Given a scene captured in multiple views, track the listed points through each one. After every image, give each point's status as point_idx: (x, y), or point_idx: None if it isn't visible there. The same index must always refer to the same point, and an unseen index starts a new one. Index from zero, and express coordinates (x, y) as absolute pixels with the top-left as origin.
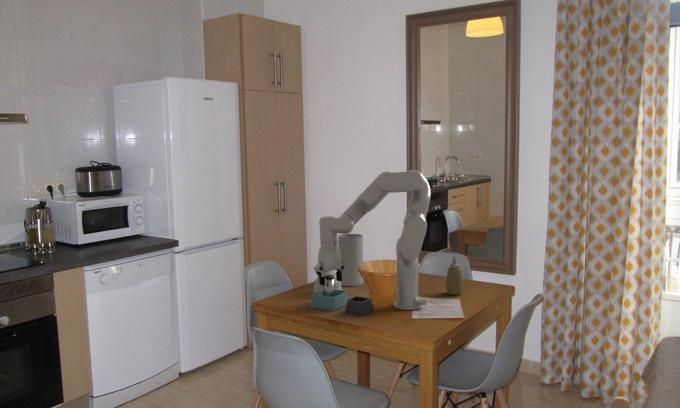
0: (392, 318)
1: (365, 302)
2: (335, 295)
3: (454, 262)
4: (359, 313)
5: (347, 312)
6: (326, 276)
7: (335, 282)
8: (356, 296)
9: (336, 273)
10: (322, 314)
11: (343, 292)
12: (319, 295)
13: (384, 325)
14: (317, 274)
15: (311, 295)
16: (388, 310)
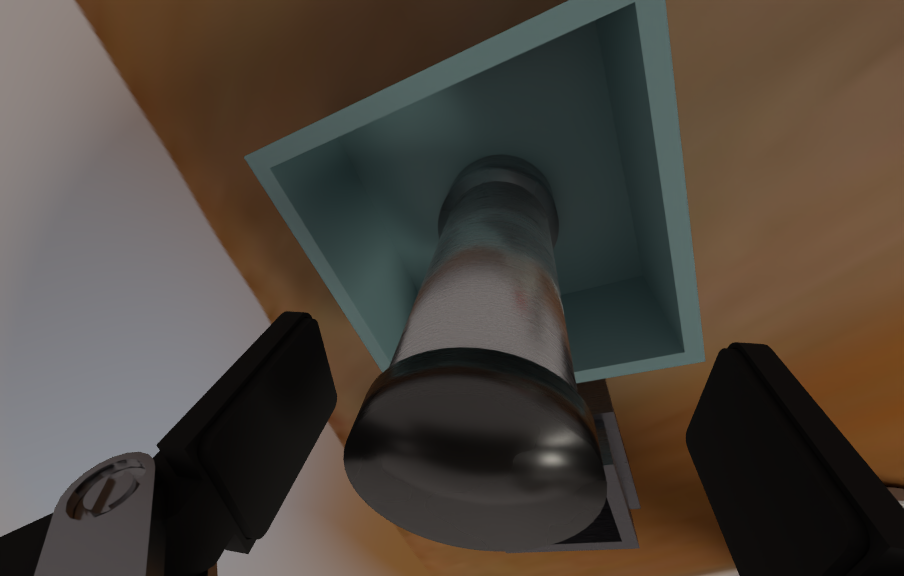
0: (574, 551)
1: None
2: (640, 188)
3: None
4: None
5: None
6: (373, 475)
7: None
8: (607, 473)
9: (814, 502)
10: (325, 321)
11: (616, 365)
12: (321, 274)
13: (475, 559)
14: (37, 530)
15: (260, 164)
16: (686, 505)
